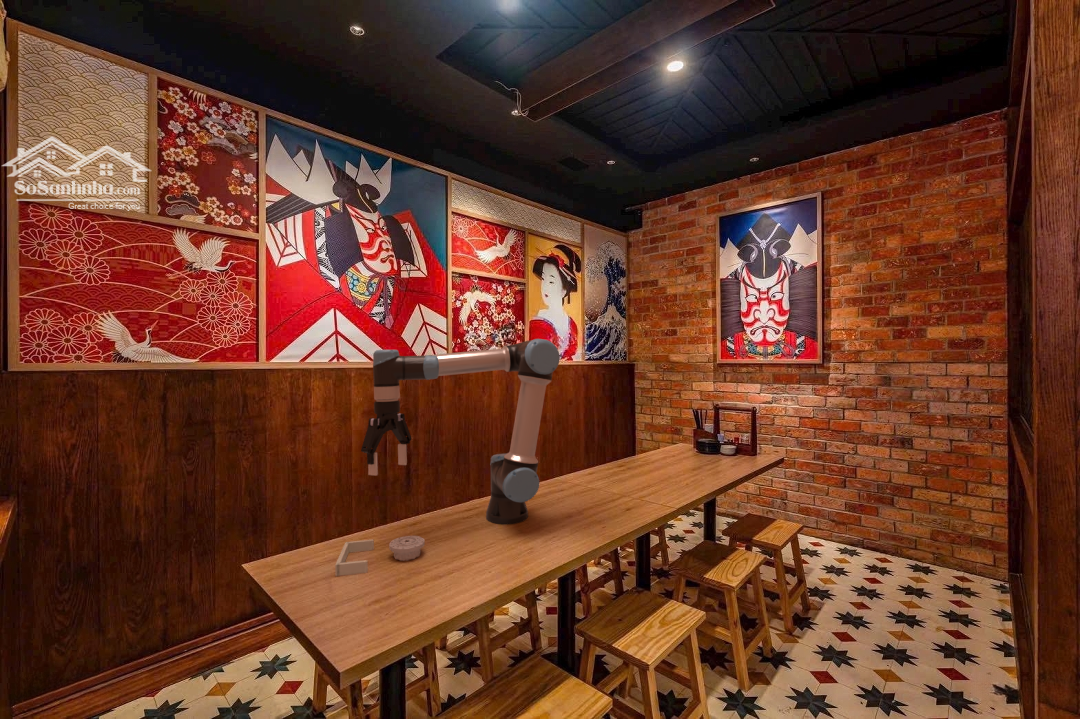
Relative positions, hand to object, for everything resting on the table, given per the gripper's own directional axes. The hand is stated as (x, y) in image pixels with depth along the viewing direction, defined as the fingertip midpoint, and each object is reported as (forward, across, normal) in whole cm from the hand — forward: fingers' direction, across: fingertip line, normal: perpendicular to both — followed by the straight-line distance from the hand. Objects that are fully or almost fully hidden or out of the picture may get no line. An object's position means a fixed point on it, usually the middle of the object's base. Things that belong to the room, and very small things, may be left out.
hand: (388, 469), depth 140 cm
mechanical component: (+22, +5, +4) cm, 23 cm away
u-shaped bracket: (+24, +11, -2) cm, 26 cm away
